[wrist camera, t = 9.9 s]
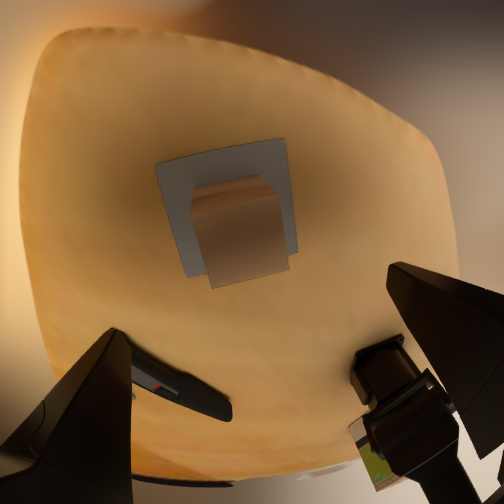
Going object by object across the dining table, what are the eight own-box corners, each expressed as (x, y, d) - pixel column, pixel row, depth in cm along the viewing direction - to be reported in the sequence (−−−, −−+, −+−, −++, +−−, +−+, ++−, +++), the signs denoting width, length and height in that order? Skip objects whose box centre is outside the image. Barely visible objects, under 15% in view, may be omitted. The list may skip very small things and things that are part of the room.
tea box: (424, 393, 39) (458, 446, 26) (389, 423, 42) (416, 475, 29) (387, 392, 34) (428, 464, 20) (345, 427, 37) (374, 495, 24)
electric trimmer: (214, 406, 28) (217, 429, 25) (95, 342, 21) (87, 368, 18) (238, 393, 27) (242, 417, 24) (114, 322, 20) (106, 349, 17)
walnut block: (268, 232, 18) (289, 269, 14) (209, 246, 18) (212, 288, 13) (257, 174, 16) (278, 193, 12) (193, 189, 16) (189, 214, 12)
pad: (282, 138, 16) (284, 138, 15) (296, 250, 19) (298, 252, 19) (155, 164, 15) (154, 165, 15) (187, 275, 19) (187, 277, 19)
